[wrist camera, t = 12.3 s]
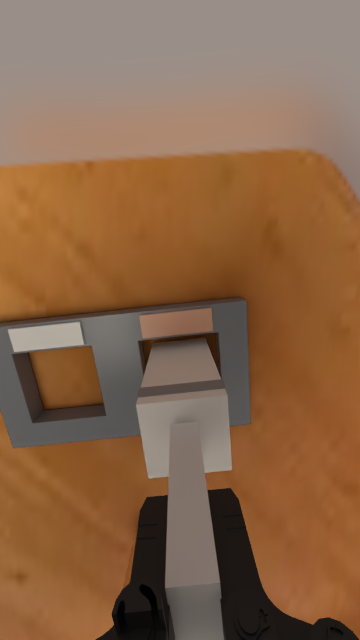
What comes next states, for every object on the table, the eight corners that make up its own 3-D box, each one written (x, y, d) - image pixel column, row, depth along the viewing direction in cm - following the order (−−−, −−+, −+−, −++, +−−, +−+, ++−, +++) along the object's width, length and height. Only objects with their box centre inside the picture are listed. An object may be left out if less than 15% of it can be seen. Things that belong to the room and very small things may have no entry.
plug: (159, 390, 24) (147, 479, 14) (152, 342, 22) (134, 404, 13) (209, 384, 24) (233, 470, 14) (205, 336, 22) (228, 394, 13)
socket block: (26, 433, 25) (11, 450, 22) (-9, 323, 22) (-30, 330, 19) (245, 411, 24) (251, 426, 22) (240, 297, 21) (247, 301, 19)
